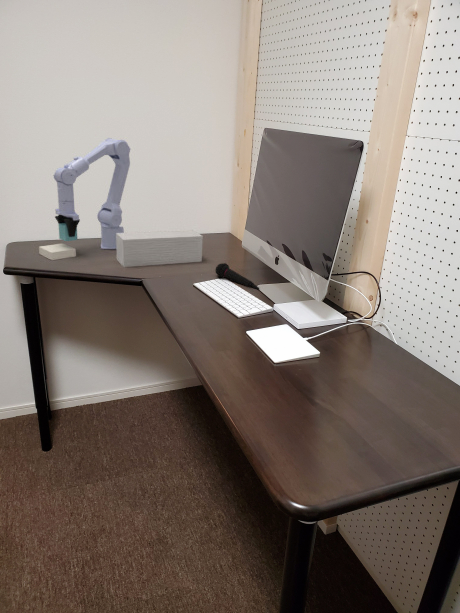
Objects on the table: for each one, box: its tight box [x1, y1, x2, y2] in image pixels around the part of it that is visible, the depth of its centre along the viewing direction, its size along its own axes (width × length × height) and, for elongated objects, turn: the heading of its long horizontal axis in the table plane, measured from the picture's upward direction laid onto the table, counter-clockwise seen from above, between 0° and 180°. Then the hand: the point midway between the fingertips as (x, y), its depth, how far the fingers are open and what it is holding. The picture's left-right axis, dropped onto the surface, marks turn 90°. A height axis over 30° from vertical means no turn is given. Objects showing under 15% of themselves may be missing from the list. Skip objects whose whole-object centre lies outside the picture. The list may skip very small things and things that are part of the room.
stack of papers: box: [115, 229, 204, 268], centre depth 183 cm, size 32×11×11 cm, turn 116°
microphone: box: [215, 262, 260, 290], centre depth 165 cm, size 6×6×20 cm
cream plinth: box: [38, 242, 77, 261], centre depth 181 cm, size 10×10×3 cm
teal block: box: [58, 223, 78, 242], centre depth 181 cm, size 5×5×6 cm
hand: (68, 235), depth 182 cm, fingers closed on teal block, 5 cm apart
